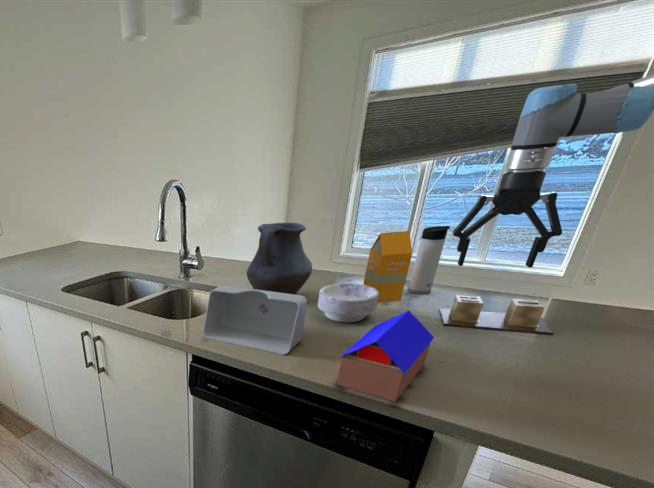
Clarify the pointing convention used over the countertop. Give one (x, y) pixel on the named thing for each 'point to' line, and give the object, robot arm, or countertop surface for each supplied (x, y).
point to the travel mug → (427, 259)
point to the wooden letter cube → (466, 308)
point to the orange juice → (389, 265)
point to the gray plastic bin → (255, 318)
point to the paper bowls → (347, 301)
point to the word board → (494, 323)
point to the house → (386, 357)
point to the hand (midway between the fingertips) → (493, 265)
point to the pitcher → (280, 259)
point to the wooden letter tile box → (524, 312)
